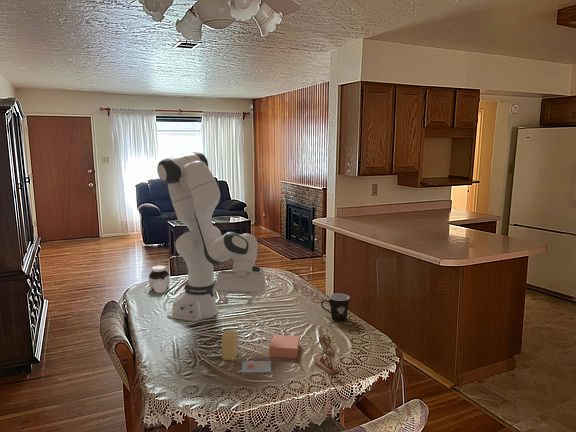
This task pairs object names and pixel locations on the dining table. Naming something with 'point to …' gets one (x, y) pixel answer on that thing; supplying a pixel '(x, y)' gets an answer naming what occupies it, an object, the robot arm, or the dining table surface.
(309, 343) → the dining table surface
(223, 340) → the ochre brick
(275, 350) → the base brick
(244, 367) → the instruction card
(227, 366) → the dining table surface
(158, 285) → the spread jar
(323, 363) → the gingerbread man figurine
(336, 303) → the coffee mug
